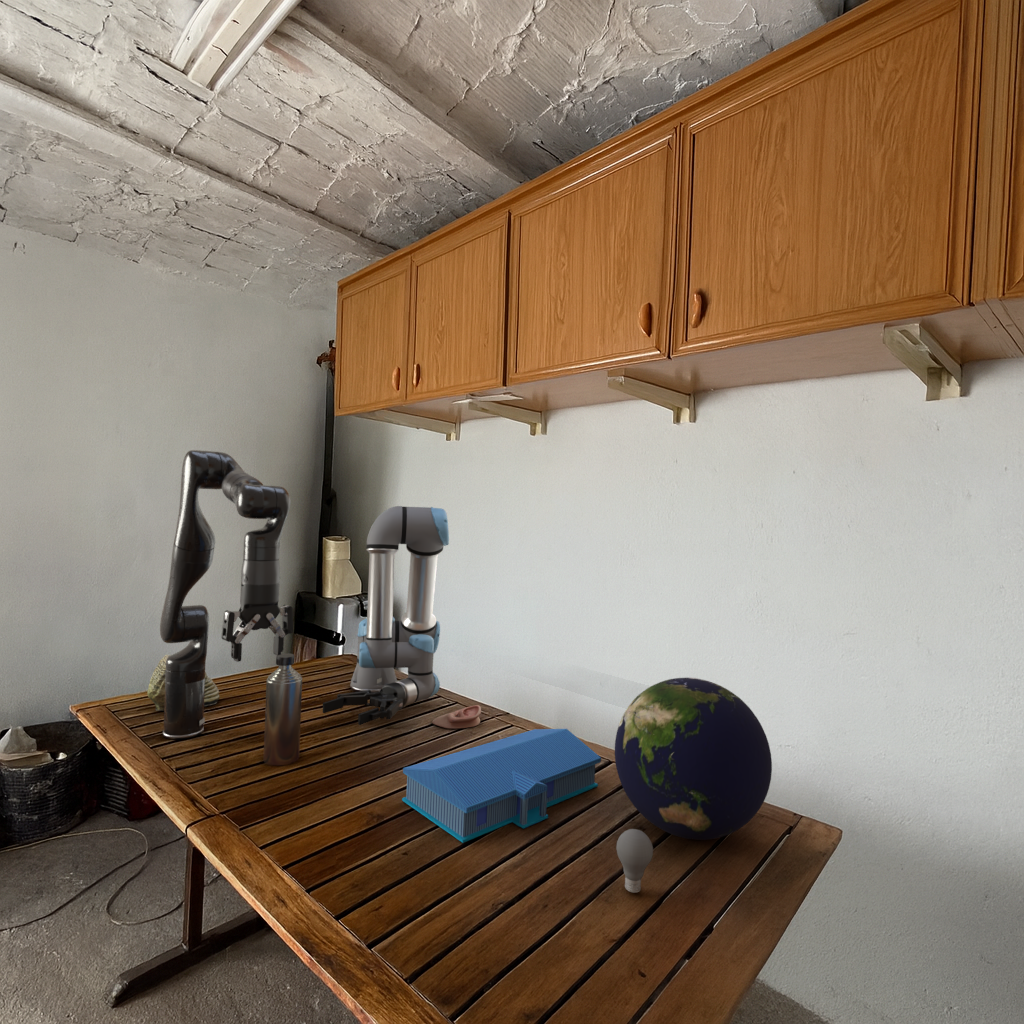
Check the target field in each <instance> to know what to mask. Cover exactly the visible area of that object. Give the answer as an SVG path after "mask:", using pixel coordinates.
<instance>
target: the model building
mask: <svg viewBox="0 0 1024 1024" xmlns="http://www.w3.org/2000/svg"><path fill="white" fill-rule="evenodd" d="M601 762H602V757H601V756H600V755H599V754H597V752H595V751H594V750H593V749H591V748H590V747H589V746H588V745H586V744H585V743H584V742H583V741H582V740H581V739H579V737H577V736H576V735H575V734H574V733H572V731H570V730H569V729H568V728H536V729H535V728H534V729H531V730H528V731H524V732H521V733H517V734H514V735H510V736H507V737H504V738H501V739H497V740H494V741H490V742H487V743H484V744H480V745H477V746H473V747H470V748H467V749H464V750H460V751H457V752H453V753H450V754H447V755H443V756H439V757H437V758H432V759H430V760H426V761H423V762H419V763H417V764H413V765H409V766H406V767H403V768H402V774H403V775H406V796H404V797H402V798H401V801H402V802H403V803H405V804H406V805H408V806H409V807H411V808H412V809H413V810H415V811H417V812H418V813H419V814H420V815H422V816H423V817H424V818H427V819H428V820H429V821H431V822H432V823H433V824H435V825H436V826H438V827H439V828H441V829H442V830H443V831H445V832H446V833H448V834H449V835H451V836H452V837H453V838H455V839H456V840H458V841H459V842H461V843H462V844H464V843H466V842H469V841H471V840H474V839H476V838H478V837H480V836H482V835H485V834H488V833H490V832H493V831H495V830H497V829H499V828H502V827H504V826H507V825H509V824H511V823H513V824H515V825H516V826H517V827H519V828H521V829H526V828H529V827H530V826H533V825H535V824H537V823H540V822H542V821H544V820H546V819H549V814H547V808H549V807H552V806H554V805H557V804H559V803H561V802H564V801H567V800H569V799H571V798H573V797H575V796H578V795H580V794H583V793H585V792H587V791H590V790H593V789H594V788H597V787H599V784H598V783H597V782H596V781H595V778H596V765H598V764H600V763H601Z"/></svg>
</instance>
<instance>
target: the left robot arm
mask: <svg viewBox="0 0 1024 1024" xmlns="http://www.w3.org/2000/svg"><path fill="white" fill-rule="evenodd" d="M200 490H222V493H223V495H224V496H225V497H226V499H227V500H229V502H231V503H233V504H234V505H235V507H236V511H237V513H238V515H239V516H241V517H242V518H245V519H248V520H249V519H250V520H266V522H265V524H264V526H263V527H261V528H258V529H253V530H249V531H247V532H246V533H245V534H244V538H243V554H242V556H243V559H242V564H241V572H240V573H241V576H240V598H239V599H240V601H239V602H240V603H239V604H240V607H239V609H238V610H228V609H226V610H225V611H223V618H222V627H221V636H220V637H221V639H222V640H223V641H226V642H228V643H230V657H231V659H232V660H233V661H235V662H237V663H239V662H241V661H242V652H243V651H242V649H243V644H242V641H243V639H245V637H246V636H247V635H249V633H250V632H251V631H258V630H260V629H261V630H262V629H263V630H268V629H269V630H271V632H272V633H273V634H274V636H273V649H272V653H273V655H275V656H277V655H281V654H282V653H283V652H284V644H285V637H286V636H287V635H291V634H292V633H293V632H294V608H293V606H292V605H288V604H283V605H282V606H279V602H280V601H279V600H280V580H281V566H280V549H281V547H280V546H281V538H282V534H283V531H284V528H285V524H286V521H287V518H288V516H289V512H290V509H291V502H292V501H291V496H290V493H289V491H288V490H287V489H286V488H285V487H283V486H280V485H264V484H263V482H261V481H260V480H259V479H257V478H256V477H254V476H252V475H251V474H249V473H247V472H245V470H244V469H243V468H242V467H241V465H239V463H238V462H237V461H236V460H235V459H234V457H233V456H231V455H230V454H228V453H226V452H222V451H215V450H214V451H213V450H198V449H192V450H188V451H187V452H185V455H184V457H183V461H182V467H181V477H180V491H179V507H178V517H177V522H176V528H175V533H174V538H173V546H172V552H171V562H170V570H169V578H168V584H167V590H166V594H165V599H164V603H163V608H162V611H161V616H160V622H159V634H160V635H159V636H160V638H161V640H162V641H163V642H164V643H166V644H178V643H188V644H187V645H186V646H184V647H183V648H182V649H180V650H179V651H177V652H175V653H173V654H170V655H171V656H169V657H168V658H167V660H166V674H165V705H164V710H163V730H162V737H164V738H166V739H169V740H185V739H190V738H191V739H192V738H194V737H197V736H199V735H202V734H203V732H204V730H205V729H204V726H205V725H204V724H205V722H206V719H205V718H206V717H205V707H206V706H205V705H204V693H205V672H206V664H207V663H206V660H207V655H208V640H209V633H210V631H209V630H210V615H209V614H210V613H209V610H208V609H207V607H206V606H205V605H203V604H194V605H193V604H192V605H183V604H184V603H185V600H186V597H187V595H188V594H189V593H190V591H191V590H192V588H193V587H194V586H195V585H196V584H197V583H198V582H199V581H200V580H201V579H202V578H203V577H204V576H205V574H206V573H207V572H208V571H209V569H210V567H211V566H212V563H213V559H214V554H215V553H214V552H215V548H216V536H215V534H214V531H213V529H212V526H210V524H209V522H208V521H207V519H206V517H205V516H204V513H203V511H202V508H201V507H200V503H199V491H200ZM279 615H280V616H281V617H282V619H281V620H282V623H281V625H282V626H281V625H280V623H278V620H276V619H277V618H278V617H279ZM238 618H239V619H240V622H239V624H238V625H237V626H236V628H235V631H234V627H235V622H236V621H237V620H238Z"/></svg>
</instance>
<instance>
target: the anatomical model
mask: <svg viewBox="0 0 1024 1024" xmlns="http://www.w3.org/2000/svg"><path fill="white" fill-rule="evenodd" d="M481 714H482V707H481V706H480V705H478V704H475V705H471V706H467V707H463V708H460V709H457V710H454V711H452V712H448V713H445V714H442V715H439V716H437V717H435V718H434V719H432V720H431V723H432V725H435V726H438V727H441V728H445V729H466V728H467V729H468V728H472V727H476V726H478V725H480V724H481V718H480V716H481Z"/></svg>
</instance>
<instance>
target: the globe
mask: <svg viewBox="0 0 1024 1024" xmlns="http://www.w3.org/2000/svg"><path fill="white" fill-rule="evenodd" d="M767 737H768V736H767V734H766V732H765V730H764V728H763V726H762V724H761V722H760V721H759V718H758V717H757V716H756V715H755V713H754V712H753V710H752V709H751V708H750V706H749V705H748V704H747V703H746V702H745V701H743V699H741V698H740V697H739V696H738V695H736V694H735V693H734V692H733V691H731V690H729V689H727V688H726V687H724V686H722V685H720V684H718V683H716V682H712V681H710V680H706V679H701V678H698V677H690V676H689V677H675V678H669V679H666V680H663V681H660V682H657V683H655V684H653V685H651V686H649V687H647V688H646V689H645V690H643V691H642V692H640V693H639V694H638V695H637V696H636V697H635V698H634V699H632V701H631V702H630V704H628V706H627V708H626V710H624V713H623V714H622V716H621V719H620V720H619V723H618V726H617V730H616V734H615V741H614V762H615V768H616V772H617V776H618V779H619V782H620V784H621V786H622V788H623V791H624V793H625V795H626V796H627V798H628V799H629V801H630V802H631V805H633V807H634V808H635V809H636V811H638V812H639V813H640V815H642V817H644V818H645V819H646V820H647V821H648V822H649V823H651V824H652V825H654V826H655V827H656V828H658V829H660V830H662V831H664V832H666V833H668V834H670V835H673V836H674V837H679V838H682V839H687V840H695V841H709V840H716V839H720V838H722V837H726V836H728V835H731V834H733V833H735V832H737V831H739V830H740V829H742V828H743V827H744V826H745V825H747V824H748V823H749V822H750V821H751V820H752V819H753V818H754V816H756V815H757V813H758V812H759V811H760V809H761V807H762V806H763V804H764V802H765V800H766V798H767V795H768V793H769V790H770V786H771V781H772V774H773V762H772V760H773V759H772V752H771V748H770V744H769V740H768V738H767Z"/></svg>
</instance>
